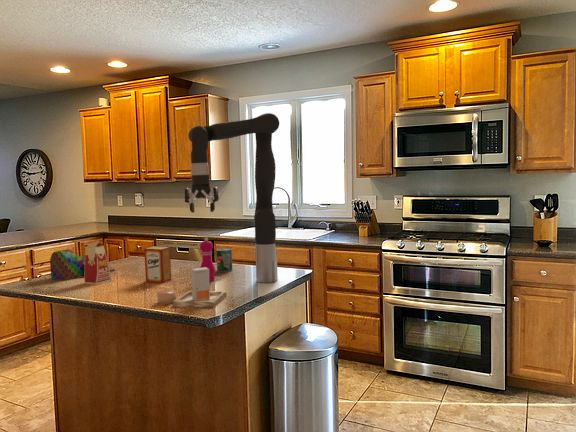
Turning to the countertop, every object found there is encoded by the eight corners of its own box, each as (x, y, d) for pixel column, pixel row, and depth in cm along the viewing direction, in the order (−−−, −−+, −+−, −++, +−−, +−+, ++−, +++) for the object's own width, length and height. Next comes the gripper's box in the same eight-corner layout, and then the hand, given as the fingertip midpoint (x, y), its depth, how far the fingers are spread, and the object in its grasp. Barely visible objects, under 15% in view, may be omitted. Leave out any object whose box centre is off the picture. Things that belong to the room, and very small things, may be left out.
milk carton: (111, 280, 231) (109, 239, 229) (96, 285, 223) (94, 241, 221) (97, 279, 235) (95, 238, 233) (82, 283, 227) (79, 241, 225)
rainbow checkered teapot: (76, 281, 233) (74, 252, 232) (51, 279, 240) (49, 250, 239) (114, 271, 255) (113, 244, 254) (90, 269, 262) (89, 243, 261)
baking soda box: (171, 280, 229) (169, 246, 228) (163, 283, 223) (161, 248, 222) (154, 279, 233) (152, 245, 231) (146, 282, 226) (144, 247, 225)
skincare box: (195, 301, 185) (194, 270, 184) (192, 299, 189) (190, 268, 188) (210, 299, 188) (209, 268, 187) (207, 296, 192) (205, 266, 191)
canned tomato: (235, 269, 250) (234, 248, 249) (225, 272, 244) (224, 250, 243) (223, 268, 255) (222, 247, 254) (213, 271, 248) (212, 249, 247)
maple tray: (226, 296, 195) (226, 291, 195) (213, 307, 179) (213, 302, 179) (188, 295, 198) (188, 290, 198) (172, 306, 182) (172, 301, 182)
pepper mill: (212, 282, 222) (210, 238, 221) (197, 281, 224) (195, 238, 222) (217, 278, 230) (216, 236, 228) (203, 278, 231) (201, 236, 229)
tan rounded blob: (178, 300, 192) (178, 290, 192) (171, 304, 185) (171, 294, 185) (162, 299, 193) (161, 289, 193) (154, 304, 186) (154, 294, 186)
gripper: (219, 173, 209) (221, 210, 210) (187, 174, 211) (189, 211, 213) (213, 173, 202) (215, 212, 203) (181, 174, 204) (183, 213, 205)
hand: (202, 212), depth 208 cm, fingers open, 8 cm apart
